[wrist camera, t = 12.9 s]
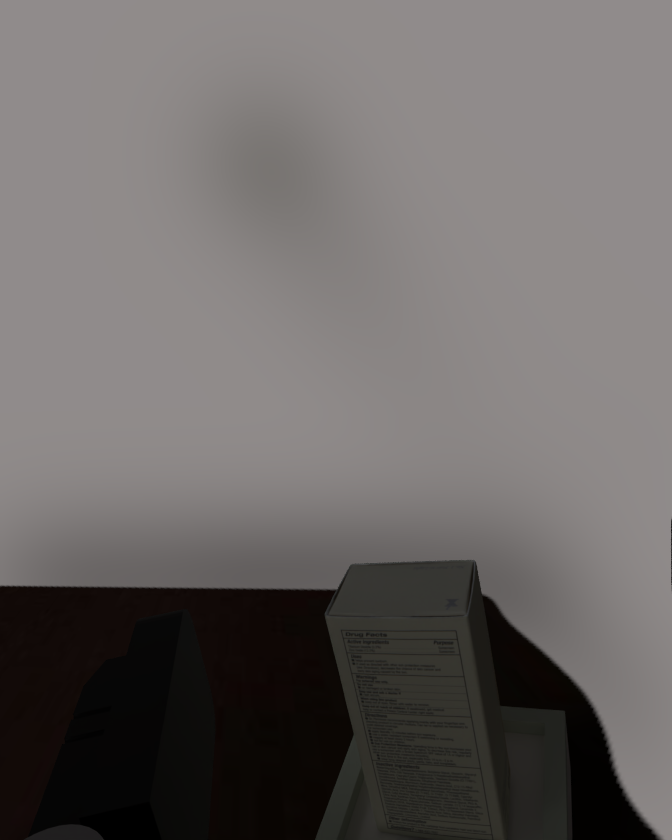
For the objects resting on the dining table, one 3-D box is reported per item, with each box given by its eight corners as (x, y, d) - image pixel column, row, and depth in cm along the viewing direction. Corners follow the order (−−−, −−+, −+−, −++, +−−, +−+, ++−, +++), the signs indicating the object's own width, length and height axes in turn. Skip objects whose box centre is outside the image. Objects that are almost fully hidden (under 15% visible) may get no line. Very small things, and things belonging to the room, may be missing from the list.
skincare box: (512, 772, 32) (483, 557, 29) (508, 855, 28) (473, 616, 25) (390, 761, 34) (350, 559, 31) (370, 836, 30) (321, 613, 27)
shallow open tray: (319, 936, 29) (302, 873, 28) (378, 747, 39) (368, 696, 38) (576, 991, 25) (569, 921, 24) (570, 767, 35) (564, 711, 34)
